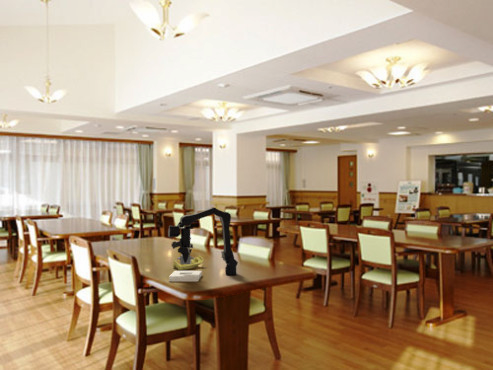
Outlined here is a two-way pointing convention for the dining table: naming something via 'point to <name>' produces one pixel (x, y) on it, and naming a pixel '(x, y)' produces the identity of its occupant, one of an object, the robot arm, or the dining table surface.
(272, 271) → the dining table surface
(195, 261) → the plastic component
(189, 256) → the servo
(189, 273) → the white square base plate
